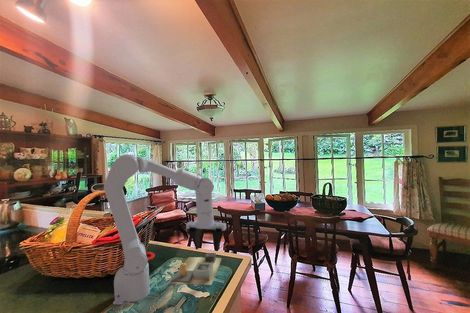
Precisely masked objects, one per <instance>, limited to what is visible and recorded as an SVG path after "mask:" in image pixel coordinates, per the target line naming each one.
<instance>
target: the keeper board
mask: <svg viewBox="0 0 470 313" xmlns="http://www.w3.org/2000/svg"><path fill="white" fill-rule="evenodd" d="M204 256H205V257H203V256H199V257H198V256H197V257H196V256H193V257H192V256H189V257H187V259H186V260H185V262H184V263H185V264H186V265H187V271H193V270H194V269H195V267H196V265H197V263H213V273H212V276H211V278H210V280H193V277H192V279H191V281H190V282H171V281H170V284H173V285H175V284H176V285H177V284H179V285H181V284H182V285H203V286H204V285H205V286H212V285H213V283H214V280H215V277H216V275H217V272H218V269H219V267H220V264H221V262H222V258H223V257H217V252H206V254H205V255H204Z"/></svg>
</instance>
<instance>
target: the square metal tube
mask: <svg viewBox="0 0 470 313" xmlns="http://www.w3.org/2000/svg"><path fill="white" fill-rule="evenodd" d="M212 273H213V263H197V265H196V267H195V269H194V270H193V280H210V278H211V276H212Z"/></svg>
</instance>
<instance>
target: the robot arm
mask: <svg viewBox="0 0 470 313" xmlns="http://www.w3.org/2000/svg"><path fill="white" fill-rule="evenodd" d="M137 172H139V173H140V174H142V173H149V172H151V173H153V174H156V175H159V176H162V177H165V178H168V179H172V181H173V183H174V184H175V185H176V186H179V187H182V188H185V189H187V190H189V191H194V192H195V205H196V217H197V218H196V219H197V221H196V220H195V221H188V222H187V223H185V226H186V230H188V231H187V234H188V235H189V237H190V238H191V240H192V242H193V245H194V248H195V250H199V248H201V239H200V236H201V235H200V234H201V233H200V232H201V230H214V231H213V232H212V234H213V238H214V249H215V251H216V252H218V251H220V248H221V241H222V238H223V235H224V232H225V231H226V230H227V223H226V222H219V221H215V219H214V218H215V217H214V206H213V205H214V204H213V195H212V194H213V191H214V190H215V185H214V183H213V181H212V180H211V179H210V178H208V177H204V176H203V175H202V174H201V173H198V174H197V173H195V172H193V171H190V169H189V168H186V167H185V168H183V167H182V168H179V169H176V170H175V169H174V168H171V167H168V166H165V165H164V164H161V163H159V162H156V161H154V160H151V159H150V158H144V157H139V156H136V157H135V156H134V155H131V154H123V155H120V156H119V157H117V158H116V159H115V161H114V162H113V163H112V164H111V165H110V168H109V171H108V173H107V176H106V178H105V181H104V183H103V190H104V194H105V197H106V199H107V202H108V205H109V209H110V212H111V214H112V217H113V221H114V223H115V227H116V230H117V232H118V236H119V239H120V242H121V246H122V250H123V252H122V253H123V255H124V263H123V266H122V267H120V268H119V269H118V270H117V271H116V273H115V275H114V278H113V279H114V280H113V288H114V290H113V291H114V292H113V293H114V301H113V302H112V303H113V304H112V305H119V306H120V305H123V303H124V302H125V301H126V302H129V303H134V302H139V301H141V300H144V299H145V298H146V297H147V296H148V295H149V294H150V292H151V289H150V288H151V287H150V284H151V283H150V269H149V261H148V259H147V258H148V255H146V252H147V251H146V250H147V249H146V246H145V244H144V243H142V242H141V240H140V237H139V235H138V232H137V230H136V229H137V228H136V227H135V222H134V221H133V218H132V217H133V216H132V214H131V211H130V208H129V204H128V201H127V199H126V198H127V197H126V195H125V192H124V187H125V185H126V184H127V182H128V180H129V179H130V178H132V177H133V176H134V175H135V174H137Z"/></svg>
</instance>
